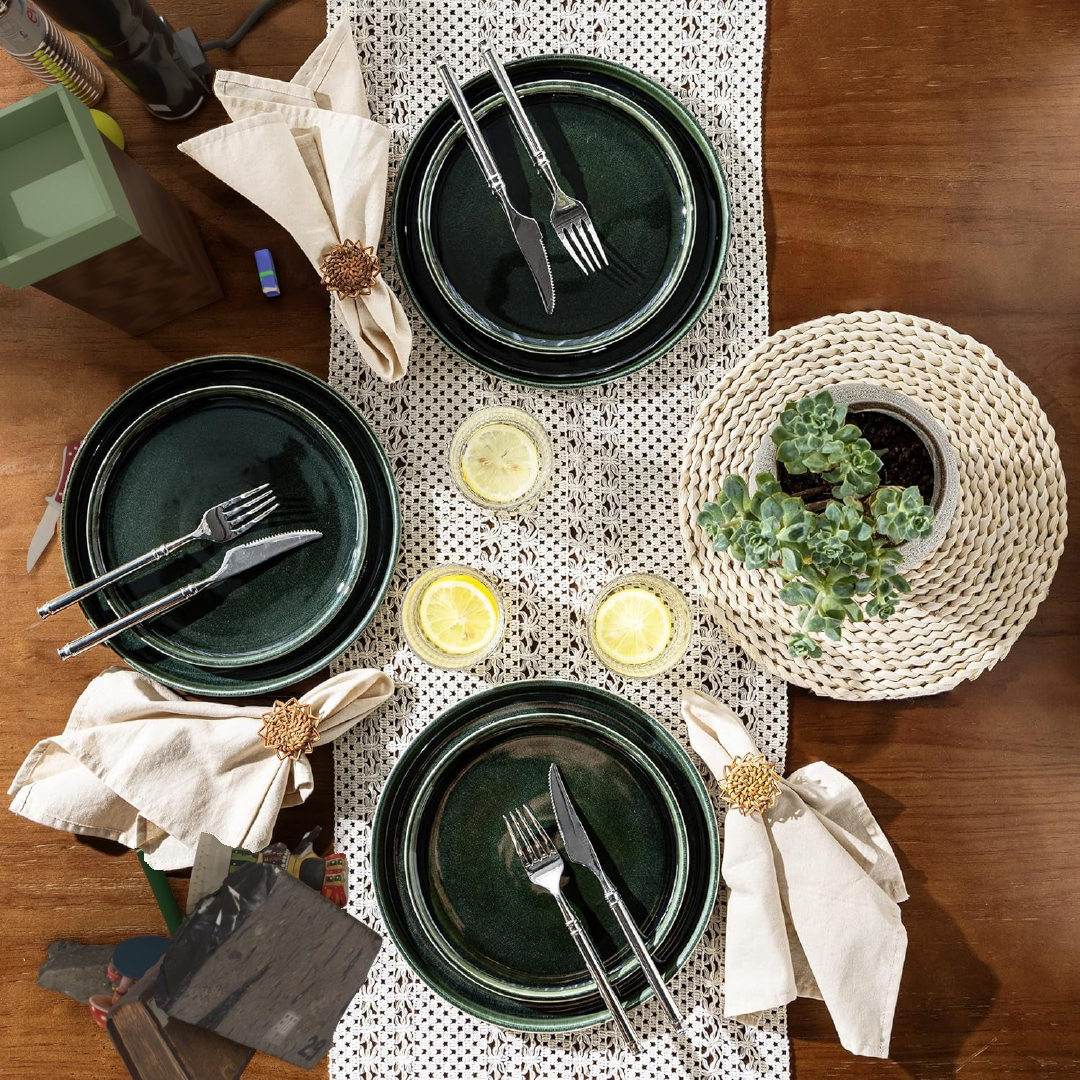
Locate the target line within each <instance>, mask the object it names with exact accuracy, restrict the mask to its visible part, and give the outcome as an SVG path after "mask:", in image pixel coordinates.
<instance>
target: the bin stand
mask: <svg viewBox="0 0 1080 1080" xmlns="http://www.w3.org/2000/svg"><path fill="white" fill-rule="evenodd" d="M97 129H98V128H97ZM98 131H99V133H100V136H101V138H102V140H103V143H104V145H105V148H106V150H107V152H108V155H109V157H110V159H111V162H112V164H113V167H114V169H115V171H116V174H117V176H118V178H119V181H120V183H121V186H122V188H123V190H124V193H125V195H126V197H127V200H128V202H129V205H130V207H131V209H132V212H133V214H134V216H135V219H136V221H137V224H138V226H139V228H140V231H141V233H142V235H140V236H137V237H135V238H133V239H131V240H128V241H126V242H124V243H122V244H120V245H117V246H115V247H113V248H111V249H108V250H106V251H104V252H102V253H100V254H97V255H95V256H93V257H91V258H88V259H86V260H84V261H82V262H80V263H77V264H75V265H73V266H71V267H68V268H66V269H64V270H62V271H60V272H57V273H55V274H53V275H51V276H48V277H46V278H44V279H42V280H39V281H37V282H35V283H33V284H31V285H29V286H30V287H32V288H34V289H36V290H38V291H40V292H42V293H44V294H46V295H49V296H51V297H53V298H55V299H56V300H59V301H60V302H63V303H65V304H67V305H70V306H72V307H74V308H75V309H78V310H80V311H82V312H84V313H86V314H88V315H90V316H92V317H94V318H97V319H98V320H101V321H103V322H104V323H107V324H109V325H111V326H113V327H115V328H117V329H119V330H122V331H124V332H125V333H127V334H129V335H131V336H134V337H138V336H140V335H143V334H144V333H147V332H149V331H152V330H153V329H156V328H158V327H161V326H162V325H165V324H167V323H169V322H171V321H174V320H176V319H178V318H180V317H181V318H182V316H185V315H187V314H190V313H192V312H193V311H196V310H199V309H201V308H203V307H205V306H207V305H209V304H212V303H214V302H217V301H219V300H221V299H223V298H225V294H224V292H223V289H222V287H221V284H220V282H219V280H218V277H217V275H216V273H215V270H214V268H213V265H212V263H211V261H210V259H209V256H208V254H207V252H206V249H205V246H204V244H203V242H202V240H201V237H200V235H199V233H198V230H197V228H196V225H195V222H194V221H193V219H192V216H191V214H190V211H189V208H188V207H187V206H186V205H185V203H183V202H181V200H179V199H178V198H177V197H176V196H175V195H174V194H173V193H171V192H170V191H169V190H168V189H167V188H166V187H165V186H164V185H162V184H161V183H160V182H159V181H158V180H157V179H156V178H155V177H153V175H151V174H150V173H149V172H148V171H146V170H145V169H144V168H143V166H141V165H140V164H139V163H138V162H137V161H135V160H134V159H133V158H131V157H130V156H129V155H128V154H127V153H126V151H124V150H121V149H120V148H119V147H118V146H117V145H116V144H115V143H113V142H112V141H111V140H110V139H109V138H108V137H107V136H106V135H104V134H103V133H102V132H101V131H100V130H99V129H98Z"/></svg>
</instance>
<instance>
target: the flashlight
mask: <svg viewBox="0 0 1080 1080" xmlns="http://www.w3.org/2000/svg"><path fill="white" fill-rule="evenodd" d="M134 851H135V854H136V856H137V859H138V860H139V863H140V866H141V867H142V870H143V872H144V874H145V877H146V880H147V882H148V884H149V886H150V889H151V891H152V894H153V897H154V899H155V901H156V903H157V905H158V908H159V910H160V913H161V915H162V917H163V919H164V922H165V924H166V927H167V929H168V931H169V933H170V936H171V938H172V937H173V935H174V933H175V931H176V930H177V929H178V927H179V926H180V925H181V924H182V922H183V921H184V920H185V919H186V918H187V917H186V916H185V915H183V913H182V911H181V908H180V905H179V903H178V901H177V899H176V896H175V894H174V892H173V889H172V887H171V884H170V881H169V880H168V877H167V875H166V873H165V870H164V869H163V870H154V869H152V868H151V867H150V866H149V864H147V862H145V861H144V852H143V851H142V849H136V848H135V847H134Z"/></svg>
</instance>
